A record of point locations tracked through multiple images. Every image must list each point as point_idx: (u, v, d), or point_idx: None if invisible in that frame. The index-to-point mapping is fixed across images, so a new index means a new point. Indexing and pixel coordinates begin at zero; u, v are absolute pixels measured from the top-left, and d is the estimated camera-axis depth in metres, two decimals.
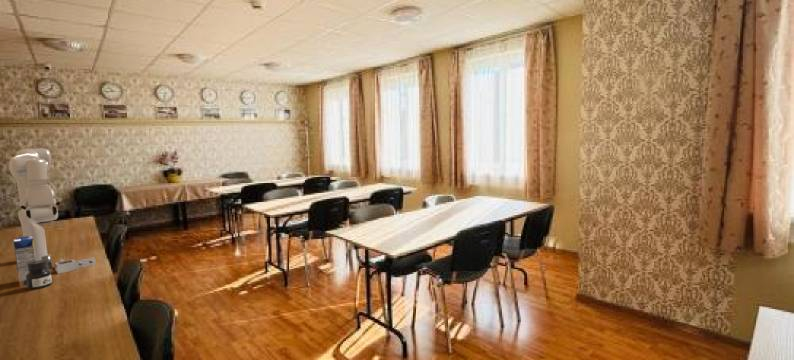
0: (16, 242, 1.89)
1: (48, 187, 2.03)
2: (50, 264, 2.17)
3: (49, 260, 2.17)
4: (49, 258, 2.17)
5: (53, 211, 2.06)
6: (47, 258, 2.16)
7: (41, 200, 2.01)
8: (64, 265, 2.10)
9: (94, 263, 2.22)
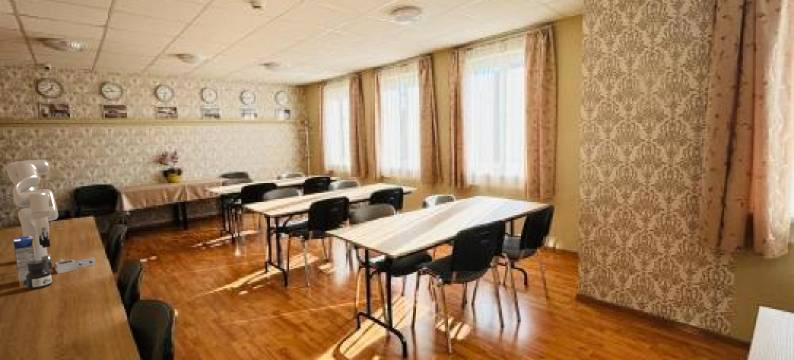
0: (16, 242, 1.89)
1: None
2: (50, 264, 2.17)
3: (49, 260, 2.17)
4: (49, 258, 2.17)
5: None
6: (47, 258, 2.16)
7: None
8: (64, 265, 2.10)
9: (94, 263, 2.22)
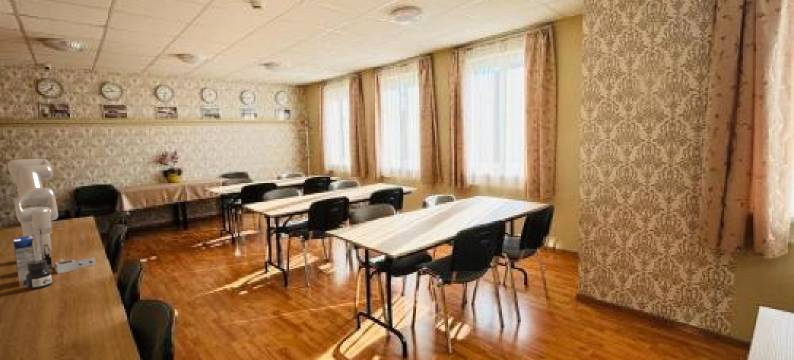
0: (16, 242, 1.89)
1: None
2: (50, 264, 2.17)
3: None
4: None
5: None
6: None
7: None
8: (64, 265, 2.10)
9: (94, 263, 2.22)
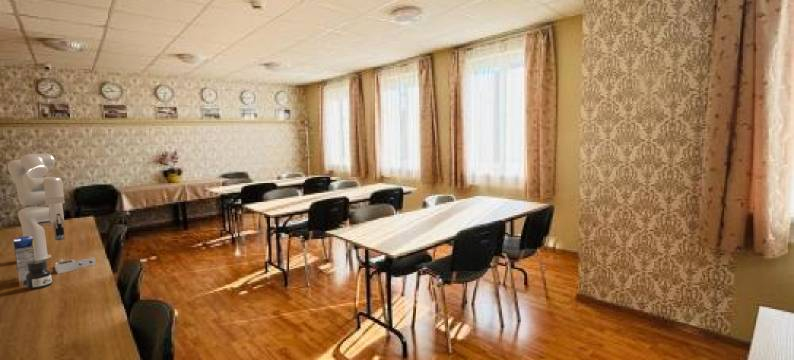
0: (16, 242, 1.89)
1: None
2: None
3: None
4: None
5: None
6: None
7: None
8: (64, 265, 2.10)
9: (94, 263, 2.22)
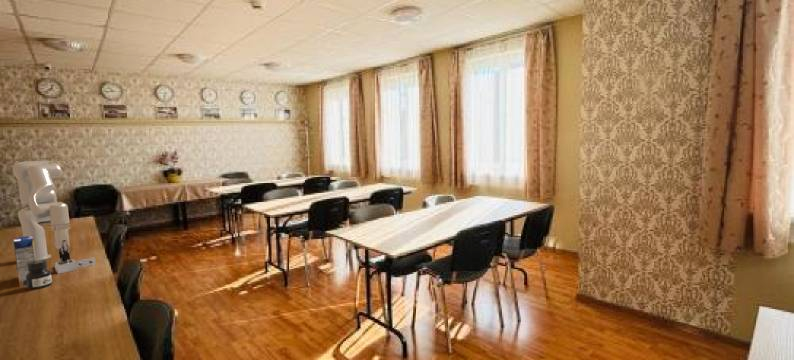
0: (16, 242, 1.89)
1: None
2: None
3: (68, 262, 2.12)
4: (68, 260, 2.12)
5: None
6: None
7: None
8: (64, 265, 2.10)
9: (94, 263, 2.22)
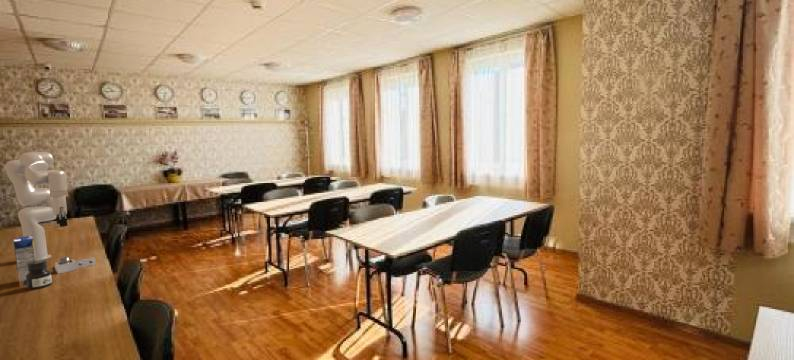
0: (16, 242, 1.89)
1: None
2: None
3: (68, 262, 2.12)
4: (68, 260, 2.12)
5: None
6: (66, 260, 2.12)
7: None
8: (64, 265, 2.10)
9: (94, 263, 2.22)
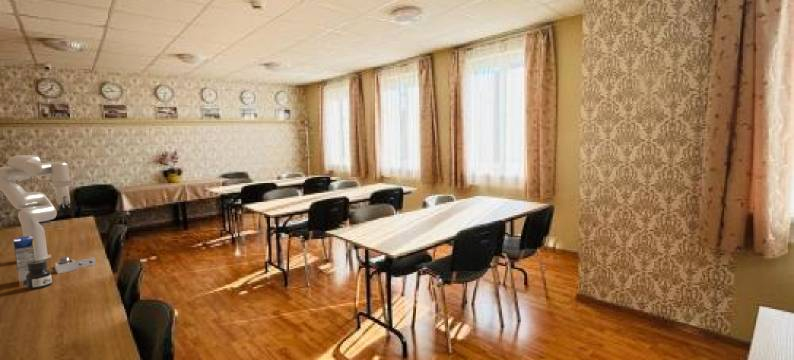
0: (16, 242, 1.89)
1: None
2: None
3: (68, 262, 2.12)
4: (68, 260, 2.12)
5: None
6: (66, 260, 2.12)
7: None
8: (64, 265, 2.10)
9: (94, 263, 2.22)
